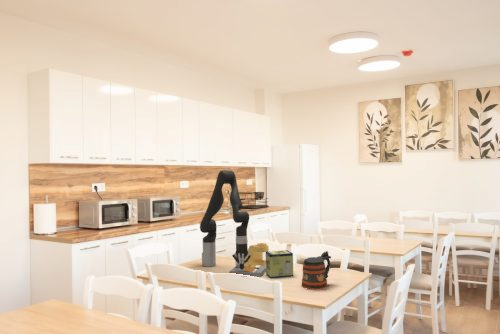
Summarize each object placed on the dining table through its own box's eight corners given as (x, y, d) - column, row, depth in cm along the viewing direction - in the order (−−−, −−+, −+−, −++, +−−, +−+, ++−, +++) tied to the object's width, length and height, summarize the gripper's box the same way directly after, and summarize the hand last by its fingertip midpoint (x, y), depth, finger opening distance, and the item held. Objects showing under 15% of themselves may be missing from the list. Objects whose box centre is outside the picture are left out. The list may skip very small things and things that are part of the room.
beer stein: (320, 281, 256) (319, 248, 256) (338, 287, 244) (337, 252, 244) (296, 287, 245) (295, 252, 245) (313, 293, 233) (313, 256, 233)
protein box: (265, 275, 274) (265, 251, 274) (288, 273, 278) (287, 249, 278) (270, 279, 264) (269, 254, 264) (293, 277, 267) (293, 252, 268)
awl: (234, 268, 282) (234, 253, 283) (236, 267, 286) (236, 252, 286) (239, 268, 282) (239, 253, 282) (240, 267, 285) (240, 252, 285)
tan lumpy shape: (271, 266, 298) (271, 243, 298) (261, 268, 292) (261, 245, 292) (252, 262, 313) (252, 240, 313) (243, 264, 307) (242, 242, 307)
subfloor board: (229, 276, 274) (229, 271, 274) (237, 269, 292) (237, 264, 292) (260, 277, 268) (260, 272, 268) (267, 270, 287) (267, 265, 287)
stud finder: (244, 271, 272) (244, 266, 272) (245, 269, 276) (245, 264, 276) (253, 271, 270) (253, 266, 271) (254, 270, 274) (254, 265, 274)
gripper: (230, 243, 273) (230, 270, 272) (249, 243, 269) (250, 271, 269) (233, 241, 280) (234, 267, 280) (252, 241, 276) (253, 268, 276)
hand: (242, 269), depth 274 cm, fingers closed
